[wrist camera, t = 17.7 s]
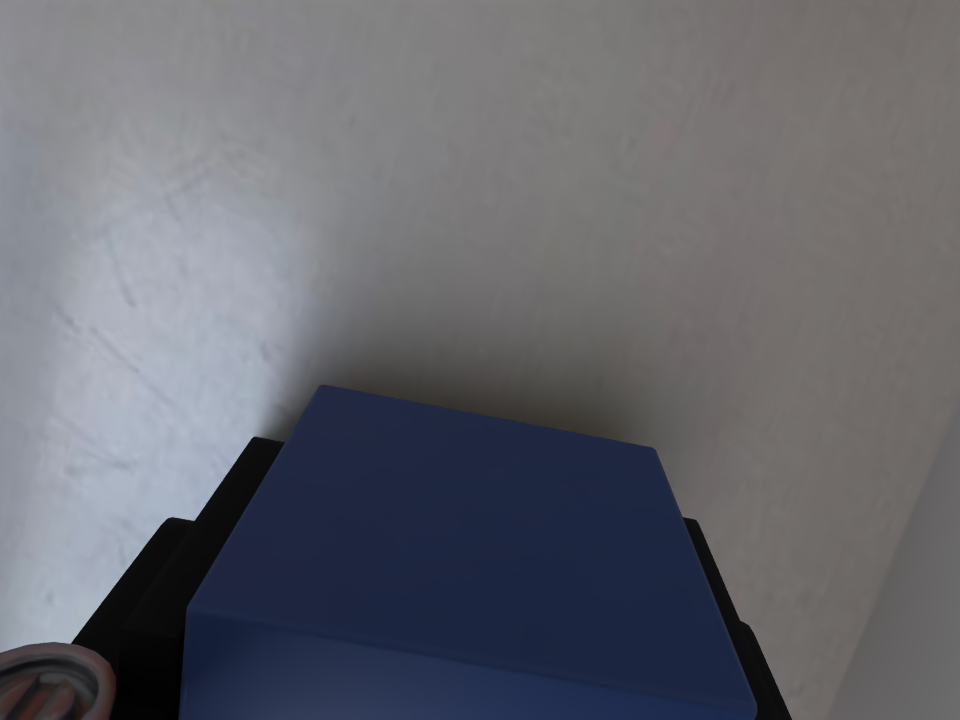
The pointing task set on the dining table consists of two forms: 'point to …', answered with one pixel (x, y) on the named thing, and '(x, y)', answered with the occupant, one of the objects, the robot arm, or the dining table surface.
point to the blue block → (457, 580)
